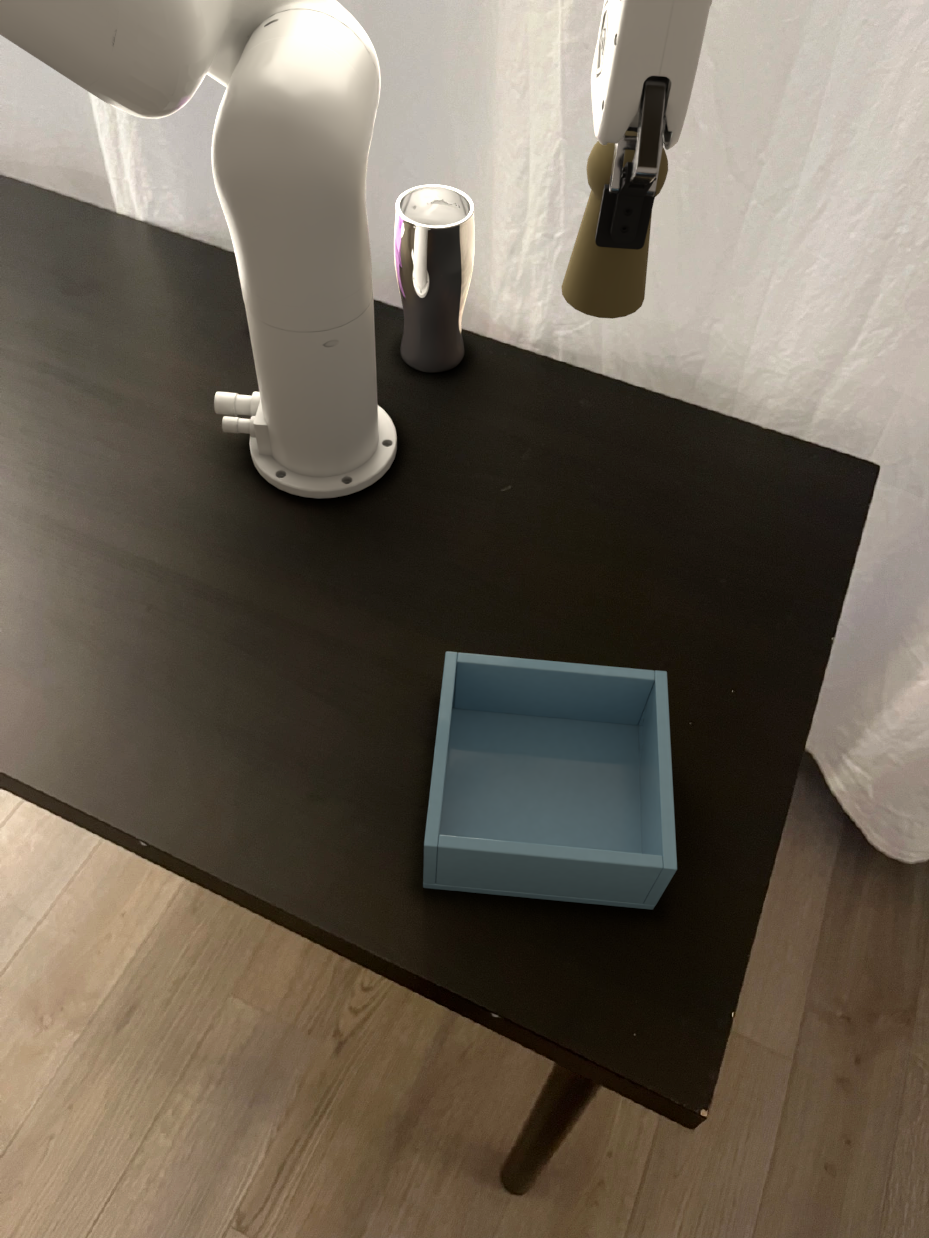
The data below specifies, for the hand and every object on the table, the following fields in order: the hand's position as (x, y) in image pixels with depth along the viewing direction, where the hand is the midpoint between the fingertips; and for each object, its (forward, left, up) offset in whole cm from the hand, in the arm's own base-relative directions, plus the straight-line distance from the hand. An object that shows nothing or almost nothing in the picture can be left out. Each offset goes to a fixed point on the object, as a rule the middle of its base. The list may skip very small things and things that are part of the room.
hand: (616, 217), depth 64 cm
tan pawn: (0, 0, -6) cm, 6 cm away
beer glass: (-13, +13, -23) cm, 30 cm away
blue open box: (-1, -32, -23) cm, 40 cm away
